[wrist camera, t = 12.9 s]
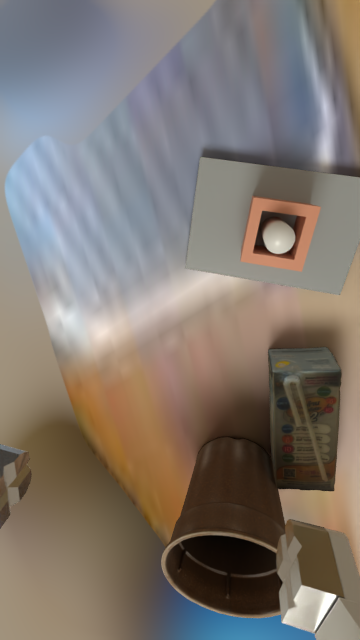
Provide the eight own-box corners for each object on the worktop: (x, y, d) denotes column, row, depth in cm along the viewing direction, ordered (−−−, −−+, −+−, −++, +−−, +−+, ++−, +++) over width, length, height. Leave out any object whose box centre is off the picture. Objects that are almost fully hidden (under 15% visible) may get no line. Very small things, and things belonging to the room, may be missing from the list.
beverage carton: (331, 344, 39) (347, 373, 33) (325, 457, 46) (337, 498, 40) (266, 346, 41) (270, 374, 35) (270, 455, 48) (274, 493, 42)
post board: (376, 180, 31) (418, 179, 24) (336, 291, 36) (360, 319, 29) (201, 157, 33) (189, 150, 26) (186, 266, 38) (173, 285, 31)
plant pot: (241, 513, 54) (241, 634, 40) (166, 464, 53) (136, 570, 38) (309, 465, 47) (338, 590, 33) (224, 407, 46) (215, 510, 31)
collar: (310, 203, 32) (321, 206, 28) (294, 260, 35) (301, 271, 30) (252, 195, 33) (253, 197, 28) (240, 251, 35) (240, 261, 31)
